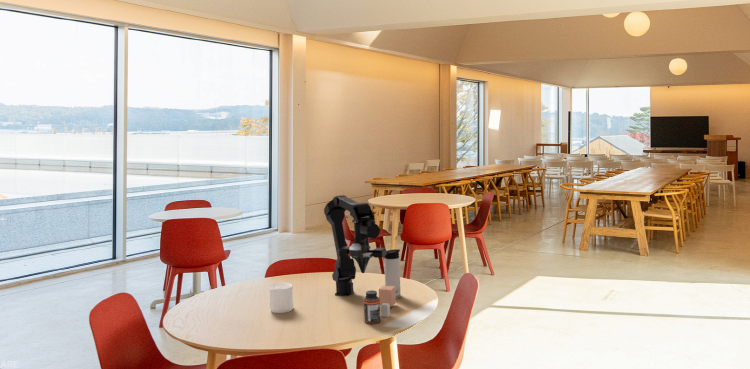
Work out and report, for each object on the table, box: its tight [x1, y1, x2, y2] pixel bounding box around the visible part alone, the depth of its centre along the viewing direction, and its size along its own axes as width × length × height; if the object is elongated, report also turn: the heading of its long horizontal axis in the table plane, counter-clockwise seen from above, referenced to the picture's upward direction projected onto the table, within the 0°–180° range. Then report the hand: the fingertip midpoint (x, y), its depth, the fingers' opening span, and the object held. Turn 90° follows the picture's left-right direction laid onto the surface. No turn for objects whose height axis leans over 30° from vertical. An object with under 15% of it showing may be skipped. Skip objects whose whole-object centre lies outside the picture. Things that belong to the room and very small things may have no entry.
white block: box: [380, 303, 391, 318], centre depth 219 cm, size 3×3×4 cm
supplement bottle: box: [363, 289, 381, 325], centre depth 213 cm, size 6×6×11 cm
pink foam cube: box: [378, 285, 397, 308], centre depth 230 cm, size 5×5×7 cm
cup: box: [268, 282, 294, 314], centre depth 231 cm, size 10×10×10 cm
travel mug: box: [383, 248, 401, 299], centre depth 242 cm, size 6×7×20 cm
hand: (363, 273), depth 232 cm, fingers closed
